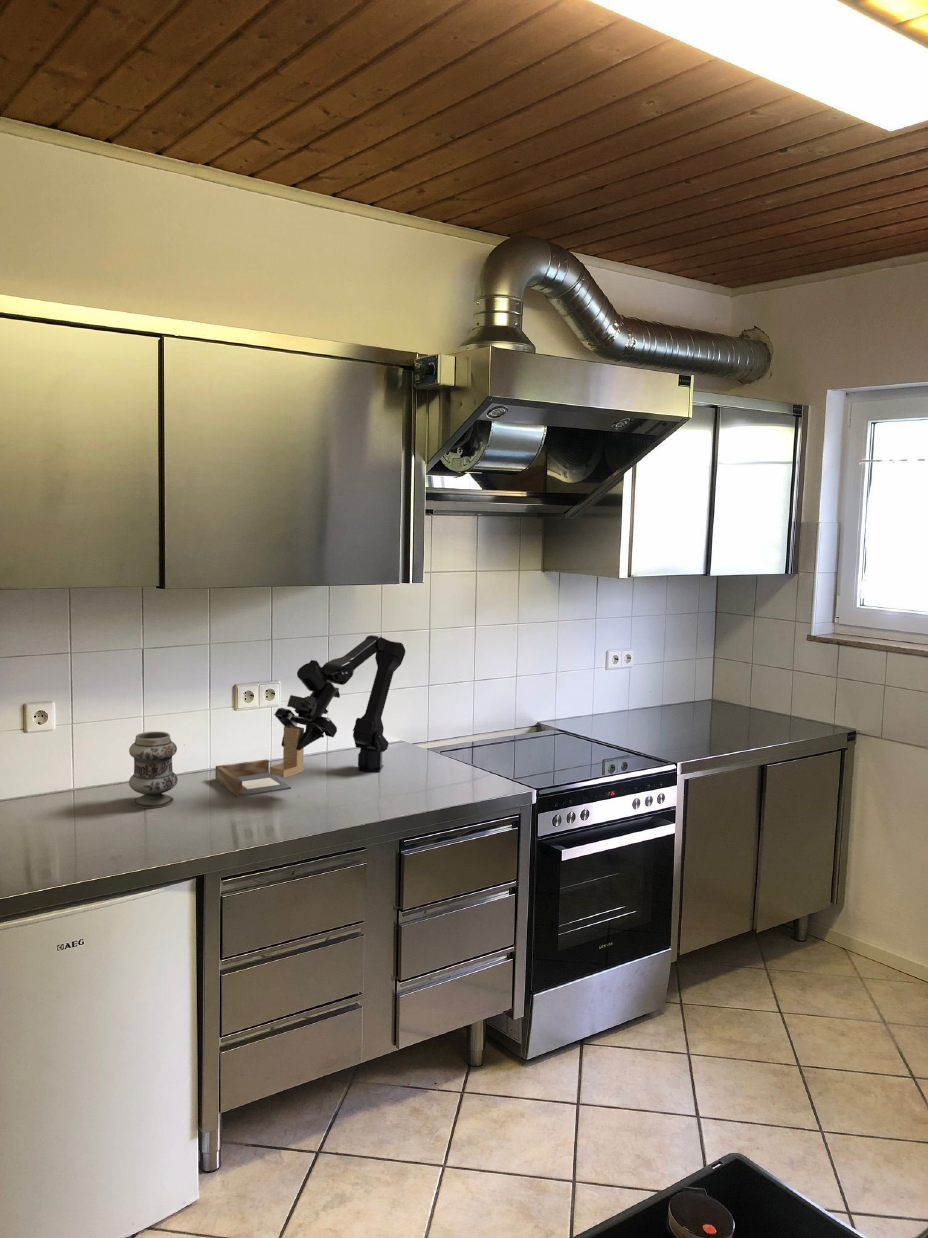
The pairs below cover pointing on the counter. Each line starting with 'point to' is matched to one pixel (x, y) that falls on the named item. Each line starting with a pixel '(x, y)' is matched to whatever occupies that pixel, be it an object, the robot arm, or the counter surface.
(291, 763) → the wooden l-shaped block
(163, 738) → the apothecary jar
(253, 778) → the mat
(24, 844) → the counter surface
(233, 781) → the corner walls
